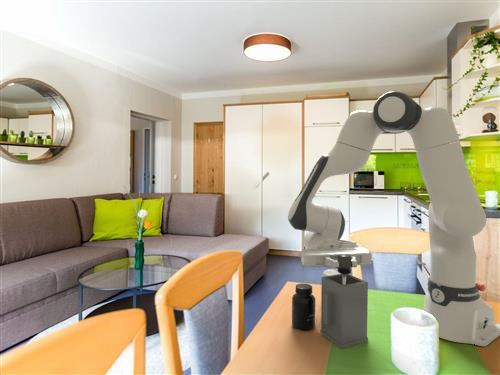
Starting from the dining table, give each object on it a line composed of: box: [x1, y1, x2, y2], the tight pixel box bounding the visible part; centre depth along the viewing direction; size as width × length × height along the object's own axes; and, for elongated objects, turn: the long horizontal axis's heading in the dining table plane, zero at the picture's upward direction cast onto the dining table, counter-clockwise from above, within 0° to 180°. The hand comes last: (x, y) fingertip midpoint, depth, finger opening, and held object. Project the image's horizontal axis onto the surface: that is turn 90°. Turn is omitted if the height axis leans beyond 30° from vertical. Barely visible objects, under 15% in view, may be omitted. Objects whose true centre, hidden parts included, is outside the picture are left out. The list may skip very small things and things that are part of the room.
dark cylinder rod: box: [336, 254, 352, 285], centre depth 89 cm, size 6×6×17 cm
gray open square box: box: [319, 274, 369, 350], centre depth 89 cm, size 11×9×16 cm
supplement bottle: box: [291, 283, 316, 332], centre depth 96 cm, size 7×7×12 cm
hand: (345, 264), depth 88 cm, fingers closed on dark cylinder rod, 4 cm apart
